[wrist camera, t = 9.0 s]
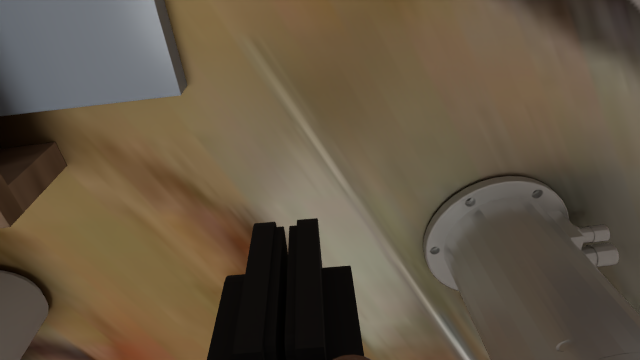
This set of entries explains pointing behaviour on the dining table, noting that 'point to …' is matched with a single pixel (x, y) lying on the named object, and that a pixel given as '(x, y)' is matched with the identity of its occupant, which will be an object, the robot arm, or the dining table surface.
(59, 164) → the walnut shelf
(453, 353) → the dining table surface
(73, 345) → the dining table surface
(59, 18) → the slate tile
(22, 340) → the can
